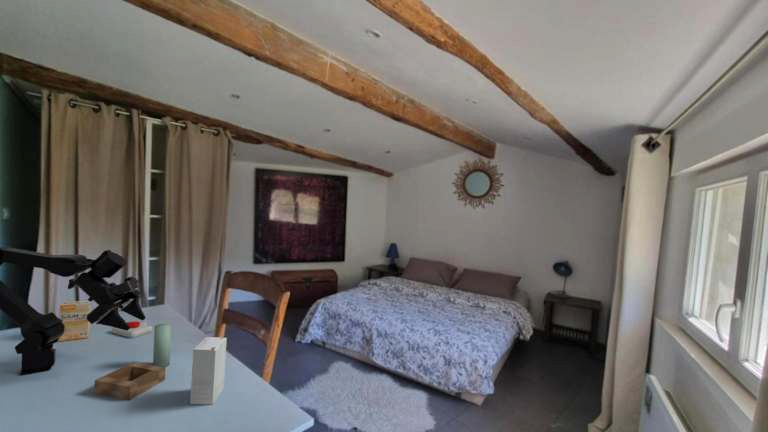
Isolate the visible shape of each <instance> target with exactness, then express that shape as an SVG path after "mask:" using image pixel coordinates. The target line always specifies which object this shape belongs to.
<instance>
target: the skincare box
mask: <svg viewBox="0 0 768 432" xmlns="http://www.w3.org/2000/svg"><path fill="white" fill-rule="evenodd" d="M227 342H228V340H227V337H216V336H215V337H212V336H205V337H204V339H202V341H200V342H199V343H198V344H197V345H196V346H195V347H193V348H194V349H193V350H192V351H193V353H192V365H191V366H192V369H191V385H190V402H189V404H191V405H214V403H215V402H216V400H217V399H218V397H219V396H220V394H221V393H222V391H223V390H224V388H225V374H226V371H225V370H226V354H227Z"/></svg>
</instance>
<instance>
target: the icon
mask: <svg viewBox="0 0 768 432" xmlns="http://www.w3.org/2000/svg"><path fill="white" fill-rule="evenodd" d="M126 323H127V324H128V325H129V327H130V329H129V330H128V331H126V330H122V329H119V328H115V327H111V328H112V329H111V333H112V334H114V335H119V336H121V337H125V338H128V339H135V338H139V337H141V336H145V335H147V334H150V333H152V331H153V327H152V326H151V325H148V323H147V322H140V321H126Z"/></svg>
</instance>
